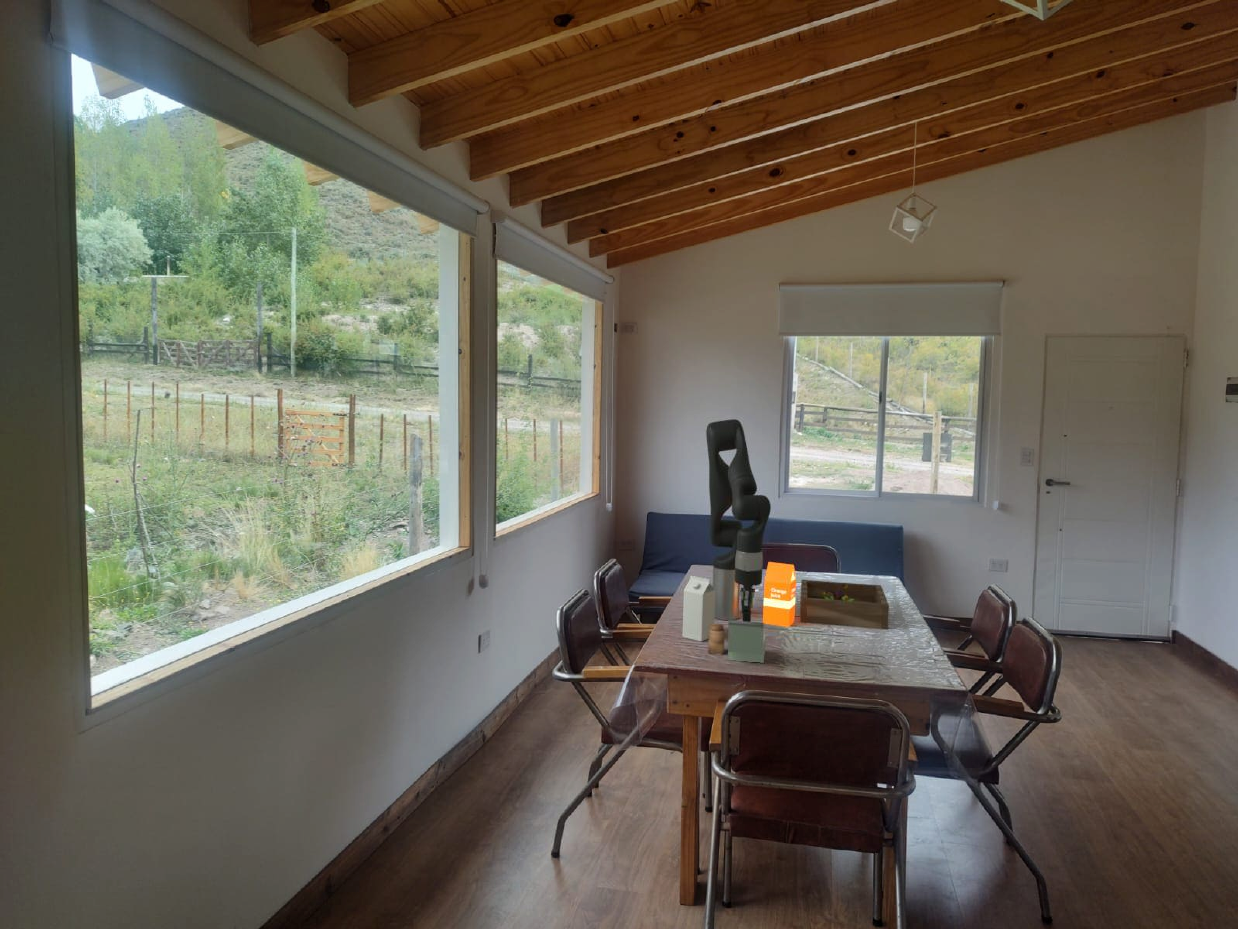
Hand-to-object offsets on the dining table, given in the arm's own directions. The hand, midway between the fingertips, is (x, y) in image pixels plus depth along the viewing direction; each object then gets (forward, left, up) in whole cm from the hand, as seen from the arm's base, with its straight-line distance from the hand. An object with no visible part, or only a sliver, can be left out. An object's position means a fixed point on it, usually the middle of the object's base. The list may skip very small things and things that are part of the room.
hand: (746, 626), depth 225 cm
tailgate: (-2, 0, -8) cm, 8 cm away
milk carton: (-22, -16, -12) cm, 29 cm away
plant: (-61, +28, -12) cm, 68 cm away
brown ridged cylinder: (-9, -9, -11) cm, 17 cm away
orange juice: (-46, +8, -12) cm, 48 cm away
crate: (-8, 0, -11) cm, 14 cm away
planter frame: (-62, +29, -11) cm, 69 cm away
